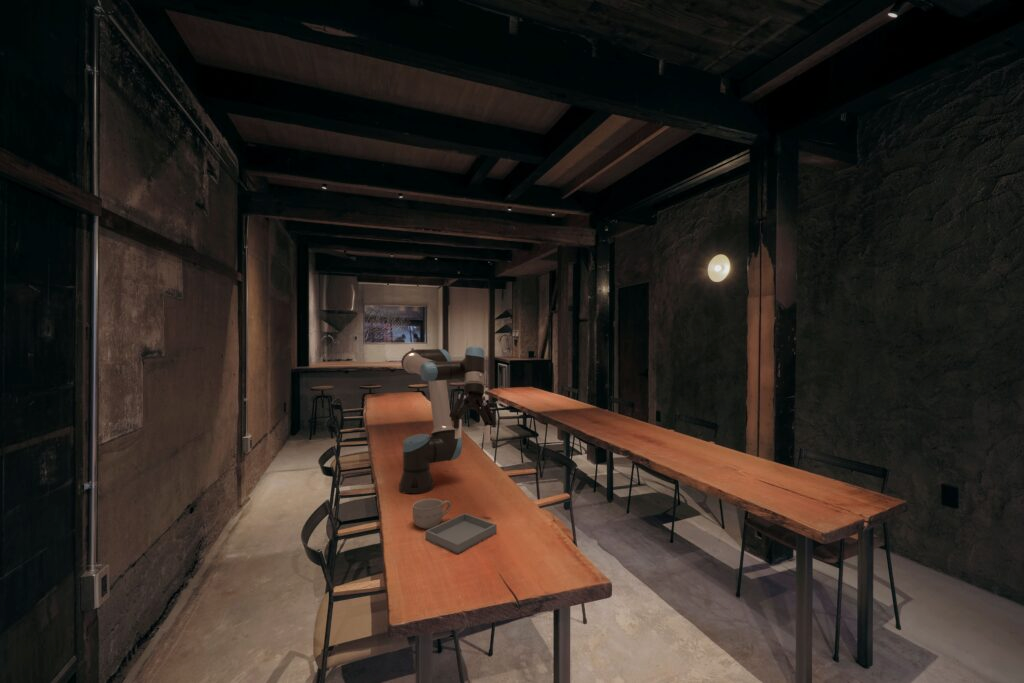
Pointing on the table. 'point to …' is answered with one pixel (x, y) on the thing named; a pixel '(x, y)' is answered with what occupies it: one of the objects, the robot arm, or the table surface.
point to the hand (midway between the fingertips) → (472, 440)
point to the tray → (460, 533)
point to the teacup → (429, 512)
